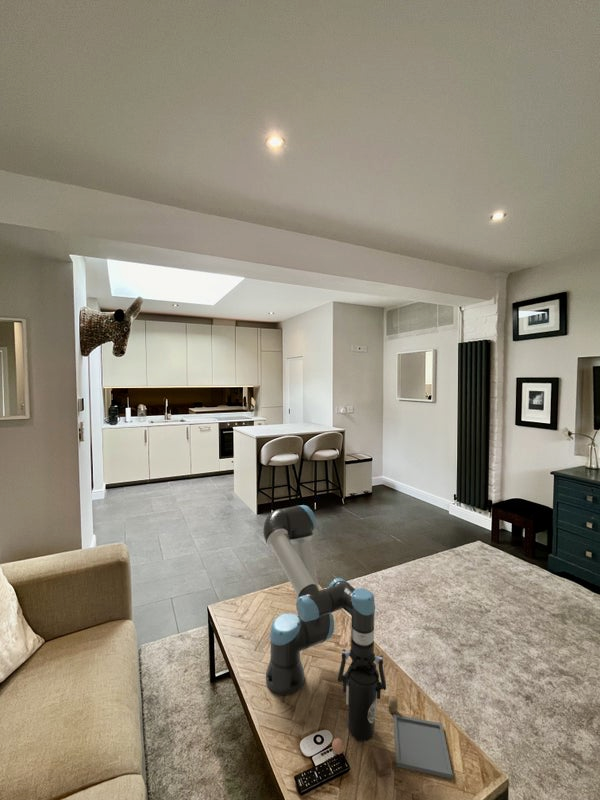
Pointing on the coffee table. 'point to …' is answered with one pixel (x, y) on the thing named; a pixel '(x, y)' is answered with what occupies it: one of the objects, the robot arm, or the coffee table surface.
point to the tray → (421, 746)
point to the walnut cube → (383, 763)
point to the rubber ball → (337, 746)
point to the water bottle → (362, 701)
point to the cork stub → (393, 705)
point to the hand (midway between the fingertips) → (361, 703)
